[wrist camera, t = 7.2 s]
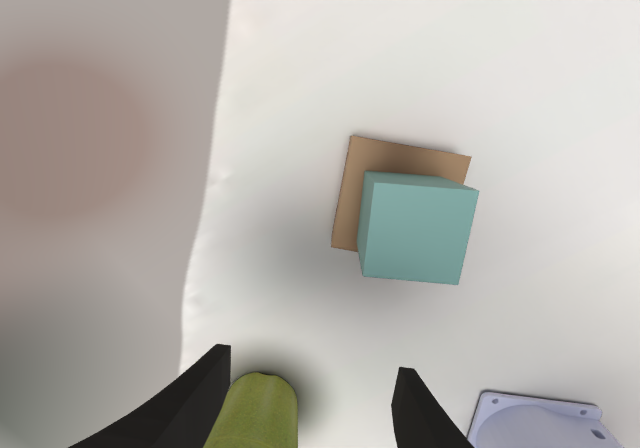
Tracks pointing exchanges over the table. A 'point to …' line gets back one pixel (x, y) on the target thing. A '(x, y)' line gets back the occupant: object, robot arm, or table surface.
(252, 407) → the plant pot
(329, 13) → the table surface
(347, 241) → the walnut slab
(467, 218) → the teal cube
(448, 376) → the table surface
